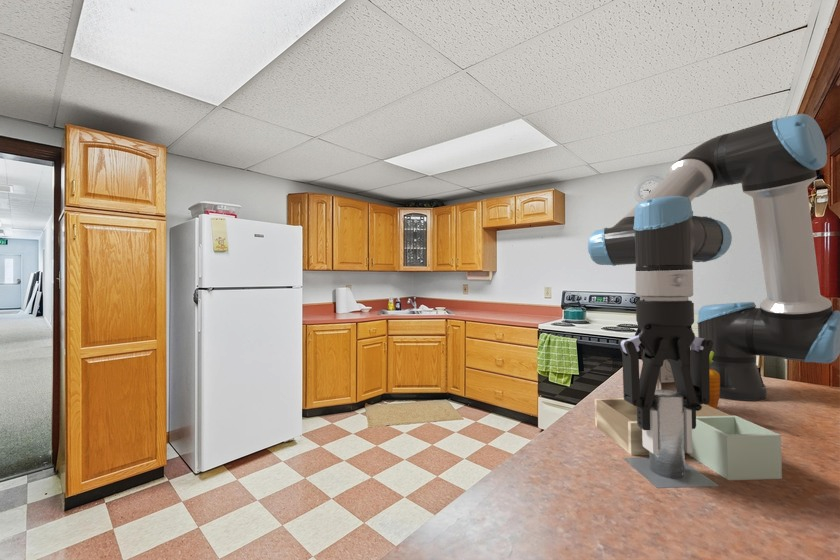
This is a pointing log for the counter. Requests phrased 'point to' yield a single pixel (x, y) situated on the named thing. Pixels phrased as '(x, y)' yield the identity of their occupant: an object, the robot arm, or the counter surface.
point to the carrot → (714, 384)
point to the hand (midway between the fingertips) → (666, 449)
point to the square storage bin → (737, 448)
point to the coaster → (690, 479)
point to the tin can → (669, 435)
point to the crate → (630, 422)
